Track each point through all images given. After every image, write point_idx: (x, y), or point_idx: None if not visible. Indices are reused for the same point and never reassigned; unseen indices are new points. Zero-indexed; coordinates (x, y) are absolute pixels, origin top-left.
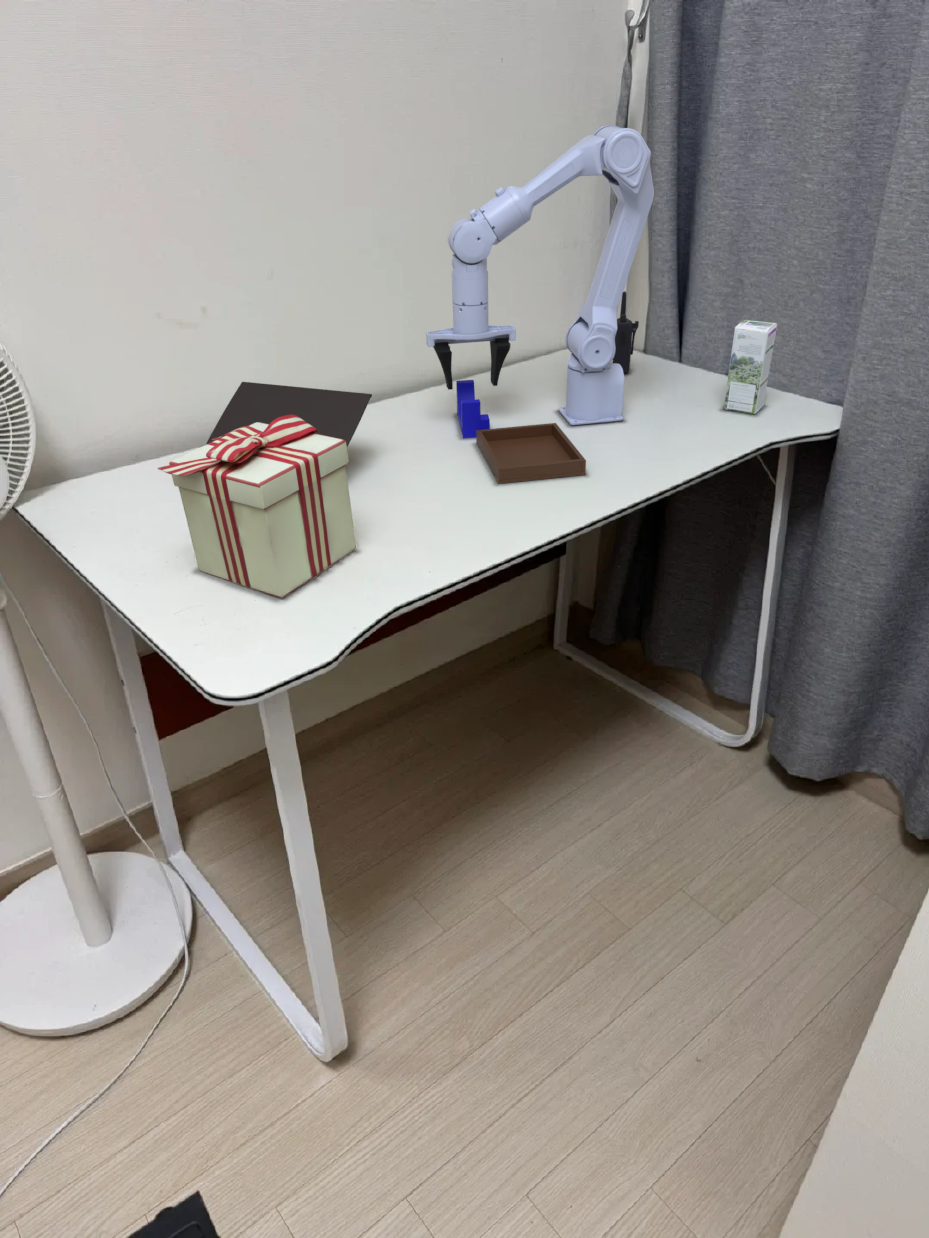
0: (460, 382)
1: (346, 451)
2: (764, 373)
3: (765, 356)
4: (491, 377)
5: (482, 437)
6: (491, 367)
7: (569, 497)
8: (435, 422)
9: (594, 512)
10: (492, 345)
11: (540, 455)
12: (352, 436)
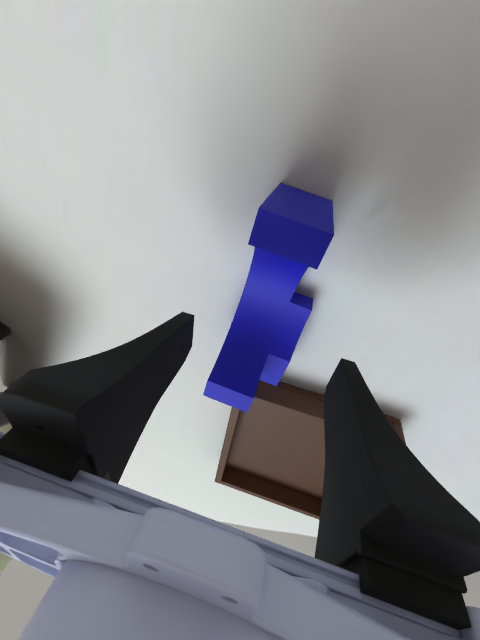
0: (265, 241)
1: (5, 567)
2: None
3: None
4: (338, 380)
5: (233, 417)
6: (349, 400)
7: (278, 508)
8: (201, 219)
9: (281, 528)
10: (351, 524)
11: (308, 458)
12: (6, 423)
